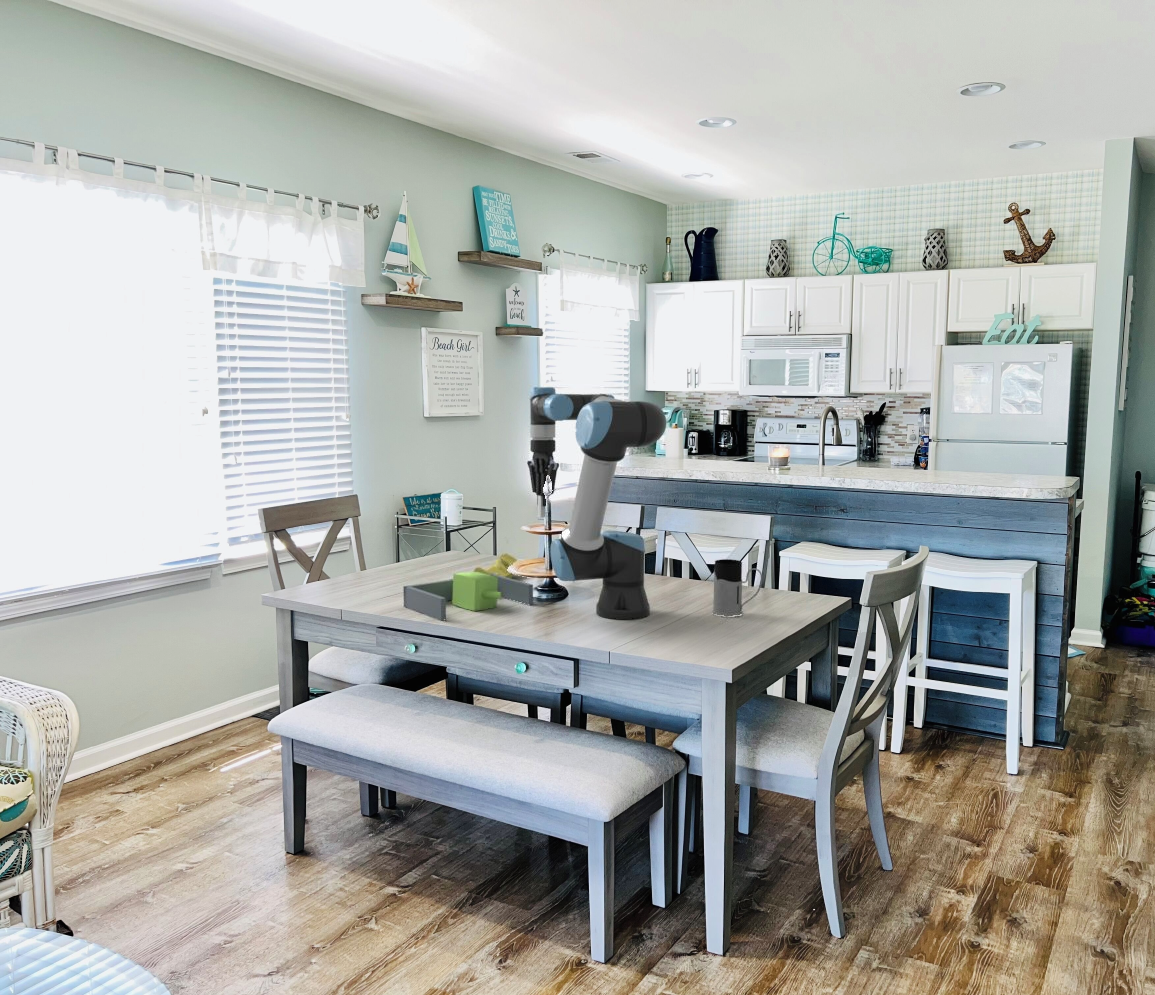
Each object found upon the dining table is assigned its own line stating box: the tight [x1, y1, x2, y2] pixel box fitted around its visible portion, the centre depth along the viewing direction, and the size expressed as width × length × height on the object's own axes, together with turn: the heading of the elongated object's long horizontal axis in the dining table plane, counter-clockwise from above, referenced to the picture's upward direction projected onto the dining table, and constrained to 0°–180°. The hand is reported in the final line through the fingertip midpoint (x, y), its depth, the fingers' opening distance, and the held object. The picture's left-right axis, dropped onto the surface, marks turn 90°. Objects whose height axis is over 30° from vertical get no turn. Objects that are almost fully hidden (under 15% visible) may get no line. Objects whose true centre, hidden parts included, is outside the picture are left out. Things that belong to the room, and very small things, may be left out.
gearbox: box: [451, 571, 502, 612], centre depth 273 cm, size 18×10×10 cm, turn 43°
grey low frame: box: [402, 574, 534, 621], centre depth 274 cm, size 21×31×6 cm
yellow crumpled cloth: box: [473, 552, 518, 579], centre depth 312 cm, size 20×7×10 cm
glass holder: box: [711, 558, 763, 616], centre depth 263 cm, size 9×14×15 cm, turn 62°
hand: (542, 516), depth 284 cm, fingers closed
